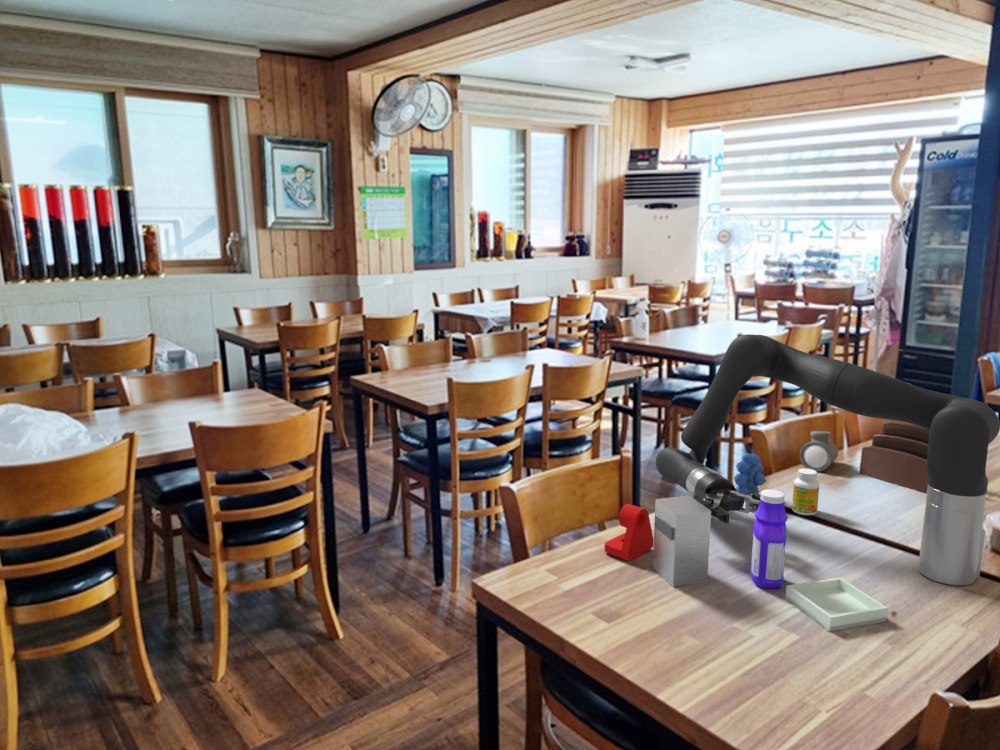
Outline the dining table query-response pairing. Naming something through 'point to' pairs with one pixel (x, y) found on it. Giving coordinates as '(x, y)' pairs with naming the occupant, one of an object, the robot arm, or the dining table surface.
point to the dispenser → (681, 540)
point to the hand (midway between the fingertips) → (748, 517)
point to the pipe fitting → (818, 451)
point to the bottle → (769, 540)
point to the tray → (836, 604)
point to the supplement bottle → (805, 492)
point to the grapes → (749, 474)
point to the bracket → (632, 534)
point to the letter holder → (898, 456)
